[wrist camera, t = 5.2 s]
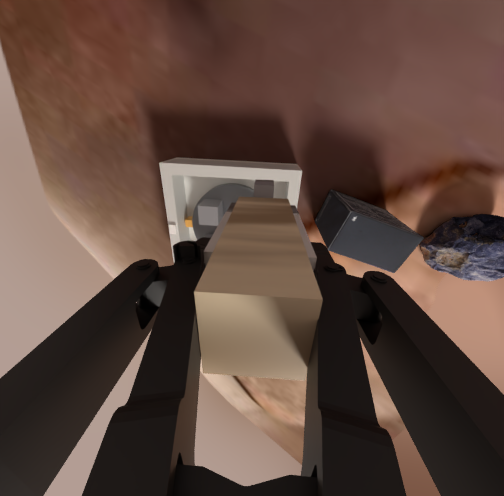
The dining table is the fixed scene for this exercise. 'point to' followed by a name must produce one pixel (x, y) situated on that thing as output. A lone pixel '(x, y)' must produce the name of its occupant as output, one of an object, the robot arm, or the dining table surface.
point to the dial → (215, 207)
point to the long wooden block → (258, 293)
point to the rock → (467, 248)
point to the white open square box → (211, 175)
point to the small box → (365, 232)
